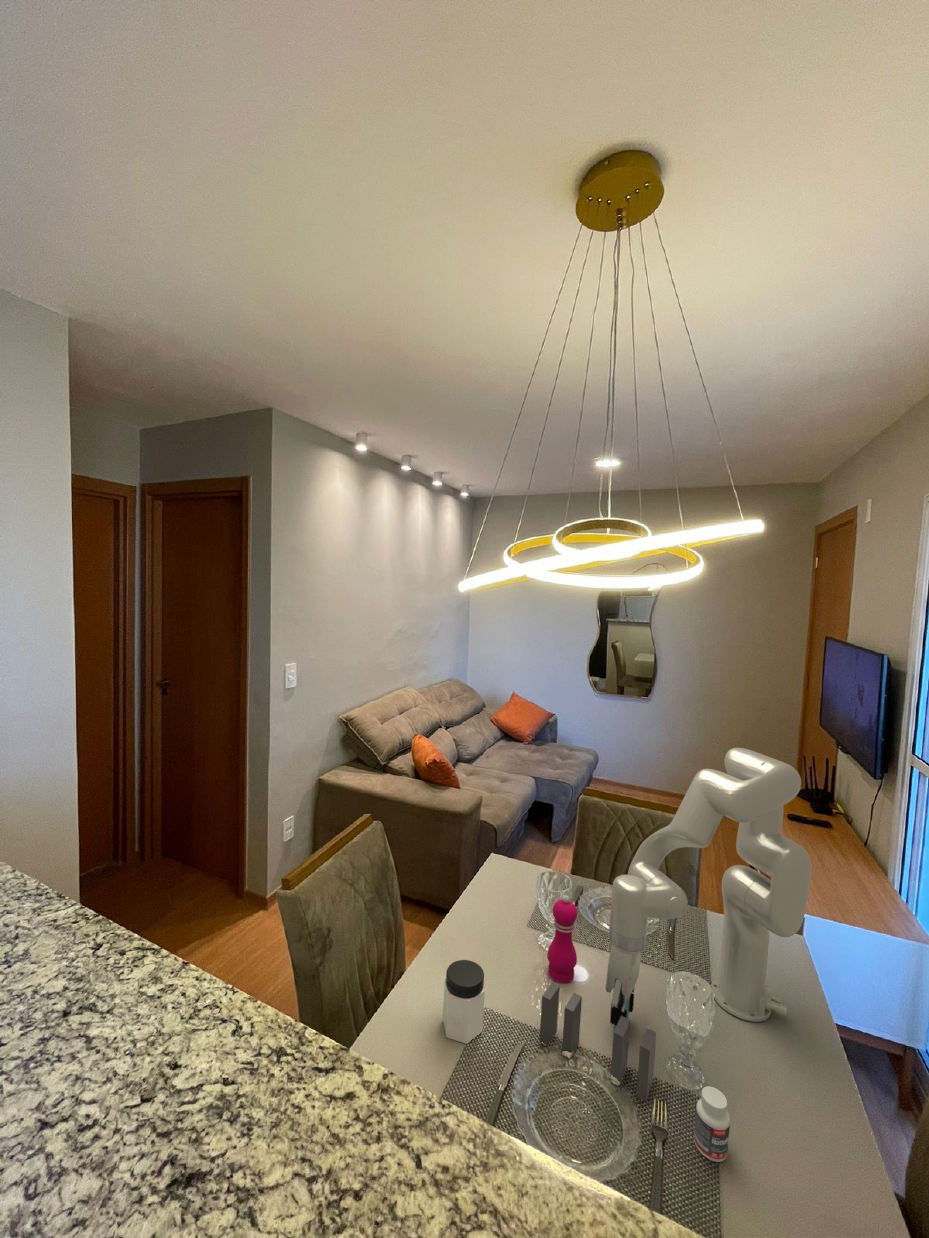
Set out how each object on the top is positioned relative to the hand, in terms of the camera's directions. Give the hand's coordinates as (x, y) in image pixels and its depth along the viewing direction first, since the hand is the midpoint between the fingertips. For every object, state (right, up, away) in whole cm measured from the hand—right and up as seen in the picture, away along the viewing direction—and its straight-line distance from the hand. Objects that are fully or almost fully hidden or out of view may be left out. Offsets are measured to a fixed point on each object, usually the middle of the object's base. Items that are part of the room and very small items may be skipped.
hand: (621, 1015), depth 113 cm
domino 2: (-13, -2, -6) cm, 14 cm away
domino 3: (0, -2, 0) cm, 3 cm away
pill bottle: (+8, -4, -24) cm, 26 cm away
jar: (-35, -1, -2) cm, 35 cm away
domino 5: (0, -3, -14) cm, 15 cm away
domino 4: (-4, -3, -12) cm, 13 cm away
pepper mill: (-10, -2, +15) cm, 19 cm away
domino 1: (-17, -2, -3) cm, 17 cm away
